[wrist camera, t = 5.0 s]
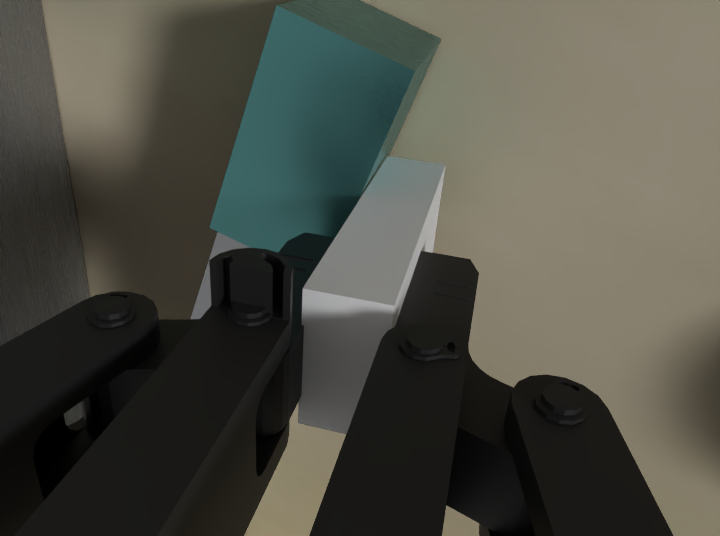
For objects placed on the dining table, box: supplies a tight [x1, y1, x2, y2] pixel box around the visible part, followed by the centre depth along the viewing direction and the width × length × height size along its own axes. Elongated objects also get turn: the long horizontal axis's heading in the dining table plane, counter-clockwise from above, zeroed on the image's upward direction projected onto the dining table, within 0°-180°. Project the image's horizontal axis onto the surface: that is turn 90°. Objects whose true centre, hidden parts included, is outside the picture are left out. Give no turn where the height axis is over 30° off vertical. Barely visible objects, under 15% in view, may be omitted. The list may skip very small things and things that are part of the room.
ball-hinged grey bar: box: [0, 0, 90, 426], centre depth 20 cm, size 30×5×5 cm, turn 176°
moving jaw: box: [191, 0, 441, 319], centre depth 19 cm, size 27×7×6 cm, turn 158°
